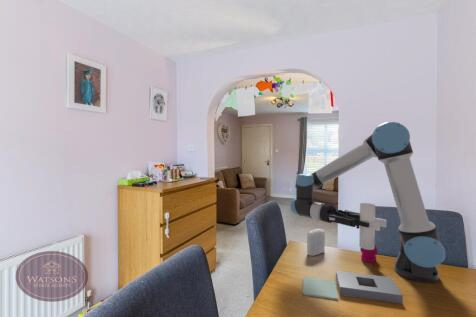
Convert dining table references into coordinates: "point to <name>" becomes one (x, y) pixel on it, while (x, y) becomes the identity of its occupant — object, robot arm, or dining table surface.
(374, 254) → the pink bowling pin
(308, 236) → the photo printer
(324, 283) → the pad
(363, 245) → the plug
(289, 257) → the dining table surface
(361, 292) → the grey holed plate
